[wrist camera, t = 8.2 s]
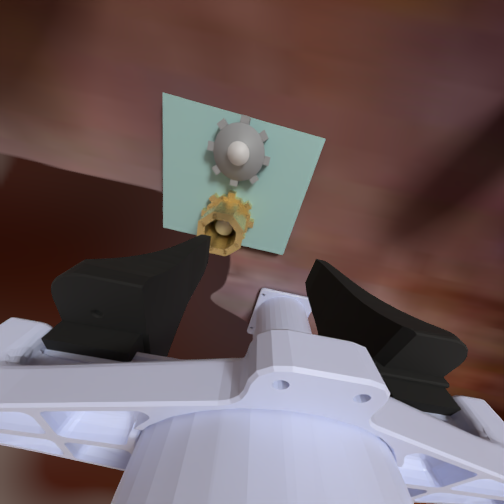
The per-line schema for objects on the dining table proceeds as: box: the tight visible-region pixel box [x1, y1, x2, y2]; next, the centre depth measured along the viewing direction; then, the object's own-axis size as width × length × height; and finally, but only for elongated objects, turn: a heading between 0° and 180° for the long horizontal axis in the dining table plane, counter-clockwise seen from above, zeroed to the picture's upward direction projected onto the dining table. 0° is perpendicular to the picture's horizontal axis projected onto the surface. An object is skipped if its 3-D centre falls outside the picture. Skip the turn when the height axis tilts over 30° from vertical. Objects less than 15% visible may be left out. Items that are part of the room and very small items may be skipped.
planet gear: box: [197, 190, 254, 256], centre depth 17 cm, size 5×5×5 cm
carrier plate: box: [163, 93, 325, 255], centre depth 17 cm, size 12×14×4 cm
